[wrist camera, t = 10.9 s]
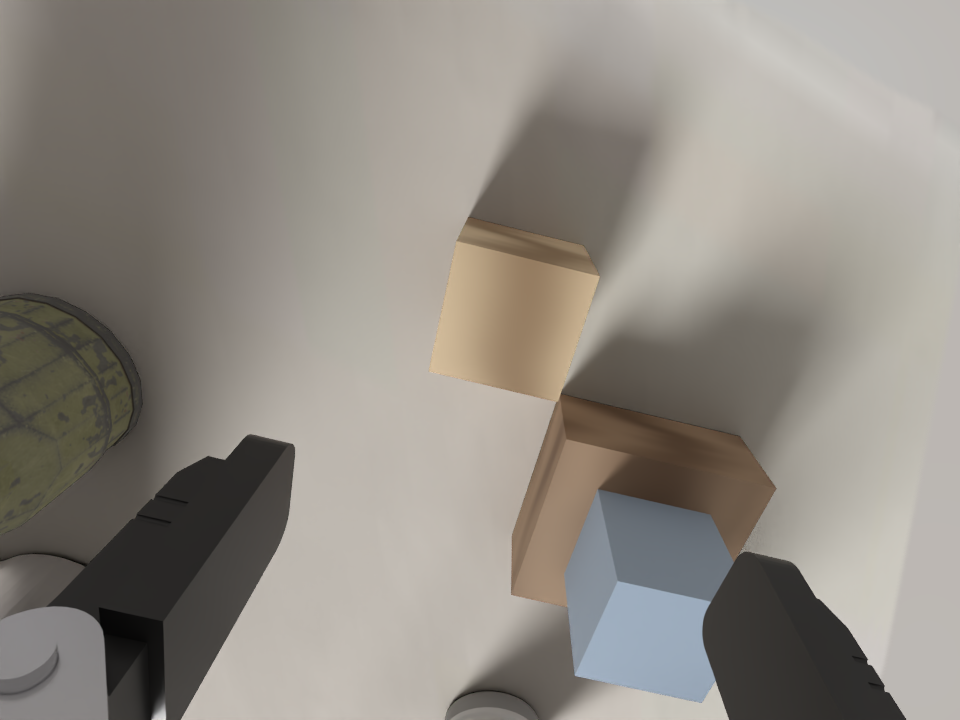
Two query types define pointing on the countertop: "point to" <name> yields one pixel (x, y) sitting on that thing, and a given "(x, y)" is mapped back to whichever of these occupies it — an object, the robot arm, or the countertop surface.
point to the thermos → (57, 400)
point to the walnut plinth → (626, 484)
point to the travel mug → (490, 707)
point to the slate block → (644, 595)
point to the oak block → (513, 309)
